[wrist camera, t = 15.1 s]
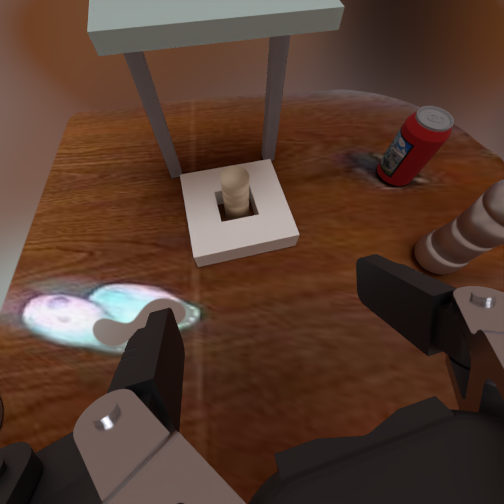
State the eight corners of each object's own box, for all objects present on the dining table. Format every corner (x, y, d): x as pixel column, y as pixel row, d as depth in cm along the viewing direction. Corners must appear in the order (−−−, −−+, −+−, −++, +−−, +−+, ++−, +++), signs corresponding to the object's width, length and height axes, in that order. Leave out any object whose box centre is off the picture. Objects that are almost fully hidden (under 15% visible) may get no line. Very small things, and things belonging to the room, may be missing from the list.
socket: (295, 245, 40) (299, 234, 37) (198, 267, 38) (193, 257, 35) (268, 173, 47) (270, 158, 44) (184, 188, 45) (179, 174, 42)
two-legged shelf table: (291, 204, 44) (344, 6, 20) (178, 226, 42) (87, 32, 18) (269, 149, 50) (291, -54, 26) (169, 166, 47) (92, -42, 24)
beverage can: (377, 158, 49) (413, 98, 39) (411, 167, 48) (459, 108, 38) (372, 182, 47) (410, 125, 36) (409, 193, 46) (459, 137, 35)
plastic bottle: (425, 234, 42) (561, 131, 24) (459, 266, 39) (638, 177, 21) (399, 253, 40) (523, 156, 22) (432, 286, 38) (602, 209, 20)
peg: (221, 221, 42) (215, 182, 34) (231, 203, 44) (227, 162, 35) (243, 228, 42) (242, 191, 33) (252, 210, 43) (253, 170, 35)
